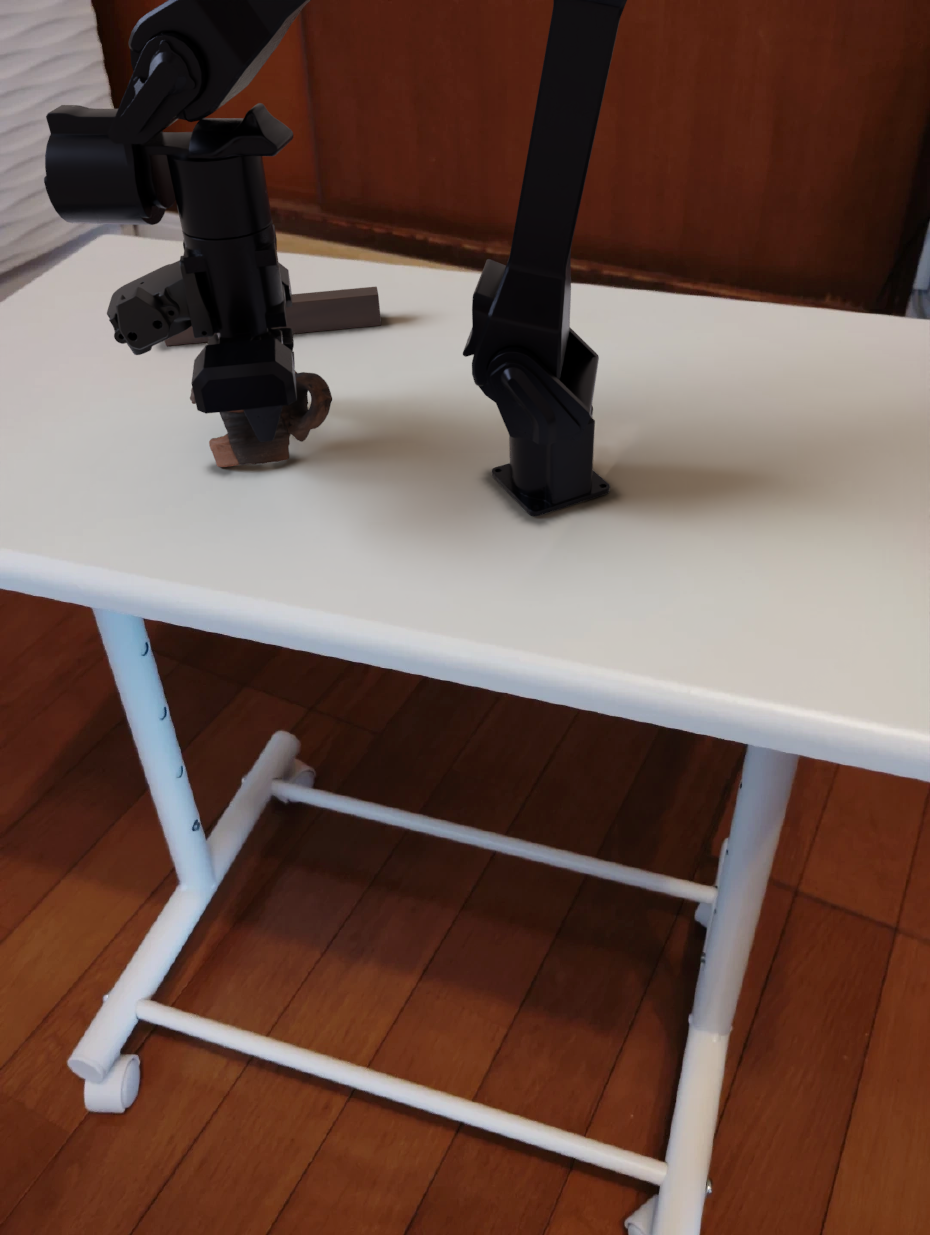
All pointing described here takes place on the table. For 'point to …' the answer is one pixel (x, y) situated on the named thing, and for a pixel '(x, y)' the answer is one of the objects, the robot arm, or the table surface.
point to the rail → (319, 313)
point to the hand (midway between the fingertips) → (266, 439)
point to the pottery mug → (293, 420)
